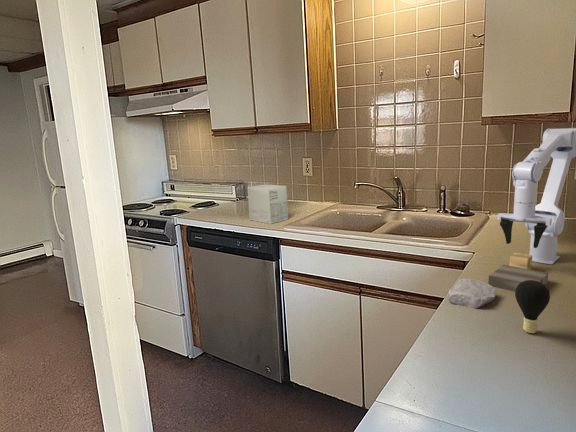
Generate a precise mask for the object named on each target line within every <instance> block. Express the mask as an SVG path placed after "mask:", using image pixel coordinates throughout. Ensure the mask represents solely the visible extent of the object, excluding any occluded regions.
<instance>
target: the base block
mask: <svg viewBox="0 0 576 432" xmlns="http://www.w3.org/2000/svg"><path fill="white" fill-rule="evenodd" d="M548 279H549V272H545V271H542V270H541V271H540V270H536V269H535V270H534V269H532V270H530V269H524V268H519V267H513V266H509V264H502V265H501V266H499V268H497V269H496V270H495V271H493V272H492V273H491V274H489V275H488V283H487V284H490V285H491V286H493V287H494V288H498V289H503V290H506V291H507V290H508V291H512V292H515V291H516V288H517V286H518V284H520V283H521V282H523V281H526V280H535V281H539V282H541V283H543V284H544V285H545V286H547V284H548Z"/></svg>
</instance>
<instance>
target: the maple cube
mask: <svg viewBox="0 0 576 432" xmlns="http://www.w3.org/2000/svg"><path fill="white" fill-rule="evenodd" d="M532 257H533V255H529V254H527V253H521V252H514V253H513V254H511V255H509V262H508V263H509V264H508V266H513V267H519V268H524V269H530V270H533V269H532V268H533V265H532V264H533V261H532Z"/></svg>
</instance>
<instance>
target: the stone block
mask: <svg viewBox="0 0 576 432" xmlns="http://www.w3.org/2000/svg"><path fill="white" fill-rule="evenodd" d="M495 294H496V287H493V286H491V285H490V284H488V283H486V282H484V281H481V280H478V279H475V278H461V279H459V280H458V281H457V282H456V284H455V286H454V287H453V288H450V289H449V291H448V301H449V302H450V304H453V305H456V306H463V307H464V306H465V307H467V306H468V307H467V308H471V309H479V308H480V307H482V306H485V305H487V304H489V303H490V302H492V301H494V300H495V298H496V297H495V296H496V295H495Z"/></svg>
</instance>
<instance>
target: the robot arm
mask: <svg viewBox="0 0 576 432" xmlns="http://www.w3.org/2000/svg"><path fill="white" fill-rule="evenodd" d="M575 157H576V127H570V128H569V127H568V128H549V127H548V128H547V129H546V130H544V132H543V135H542V142H541V145H540V146H539V147H538V148H535V147H534V149H533V150H532V151H531V152H530V153H529V154H528V155H527V156H526V157H525V158H524V159H523V160H522V161H519V162H518V163H515V164H514V165H513V168H512V171H511V177H512V180H513V181H512V182H513V183H512V185H513V187H514V200H513V201H514V202H513V213H504V212H503V213H502V212H500V213H497V221H500V222H499V226H500V227H501V229H502V231H503V234H504V238H505V241H506V242H505V243H506V244H507V245H509V244H511V243H512V231H513V224H514V222H516V223H524V226H525V228H526V230H527V231H528V234H530V240H529V253H528V255H533V257H532V262H535V263H539V264H546V265H553V264H554V263H555V262H556V261H557V260H558V259H559V258H560V255H557V249H558V237H557V236H558V235H559V236H560V234H561V233H562V232H563V230H564V228H565V220H566V219H565V218H566V216H565V213H564V211H563V210H562V209H561V208H560V207H559V202H560V199H561V195H562V191H563V188H564V186H565V181H566V179H567V178H566V177H567V175H568V171H569V169H570V165H571V162H572V159H574V158H575ZM551 159H552V163H551V167H550V170H549V173H548V176H547V179H546V182H545V183H546V184H545V186H544V190H543V195H542V197H541V199H540V200H541V201H540V203H538V204H537V191H538V190H537V189H538V182H539V181H541V178H542V175H543V172H544V168H545V167H546V166H547V165H548V163H549V162H550V160H551Z"/></svg>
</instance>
